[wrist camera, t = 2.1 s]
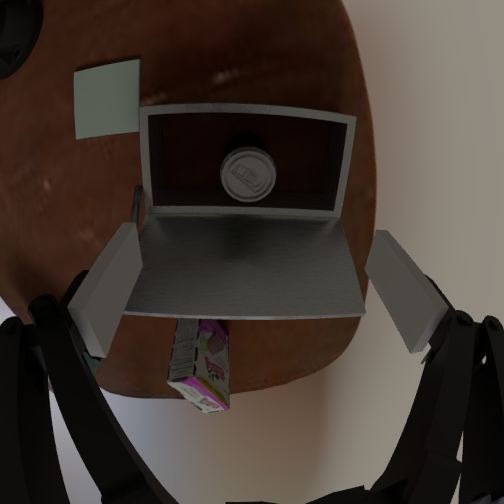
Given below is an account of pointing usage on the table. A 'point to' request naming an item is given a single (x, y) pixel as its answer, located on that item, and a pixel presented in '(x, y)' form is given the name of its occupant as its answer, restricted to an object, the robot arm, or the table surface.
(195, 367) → the candy bar box
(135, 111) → the pad
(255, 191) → the beer can
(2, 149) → the table surface
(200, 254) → the case
